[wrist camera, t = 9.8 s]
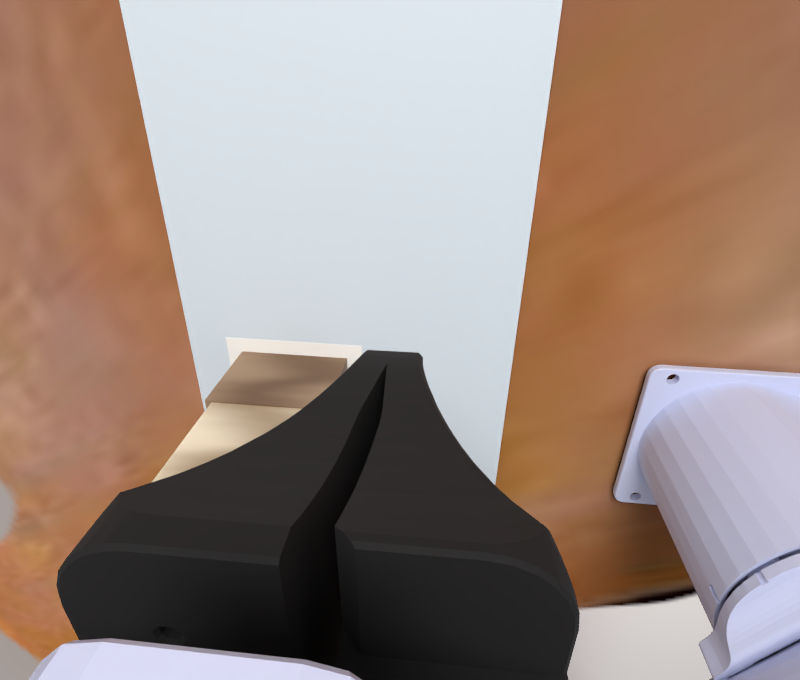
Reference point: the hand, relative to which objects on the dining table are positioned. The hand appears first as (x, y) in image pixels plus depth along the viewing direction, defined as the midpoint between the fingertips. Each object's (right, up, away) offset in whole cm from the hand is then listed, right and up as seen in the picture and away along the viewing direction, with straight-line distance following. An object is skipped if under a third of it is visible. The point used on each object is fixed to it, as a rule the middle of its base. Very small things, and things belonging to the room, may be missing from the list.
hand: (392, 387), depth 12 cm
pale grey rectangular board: (-2, +4, +10) cm, 11 cm away
